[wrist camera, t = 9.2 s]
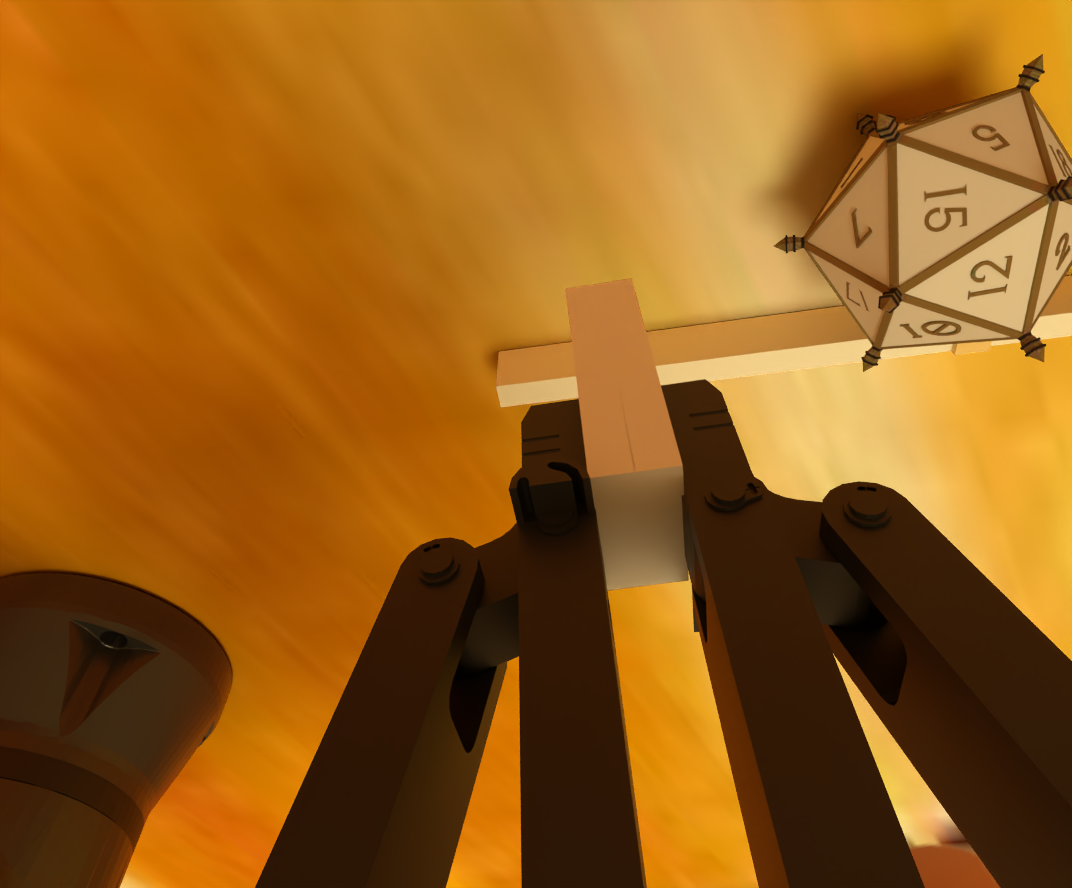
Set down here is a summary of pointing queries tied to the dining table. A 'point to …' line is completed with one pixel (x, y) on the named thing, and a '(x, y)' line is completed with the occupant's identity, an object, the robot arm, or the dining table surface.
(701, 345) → the tan piece
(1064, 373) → the dining table surface
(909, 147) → the game die
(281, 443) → the dining table surface
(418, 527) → the dining table surface
